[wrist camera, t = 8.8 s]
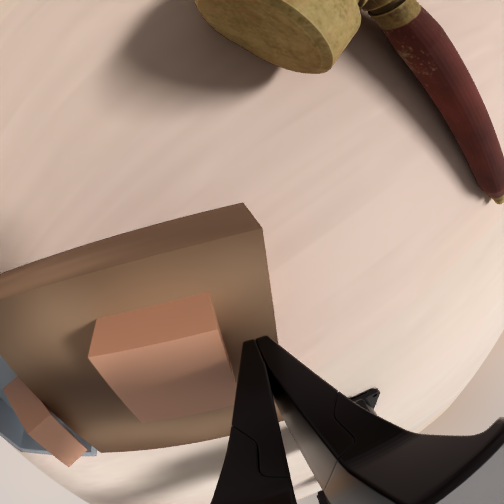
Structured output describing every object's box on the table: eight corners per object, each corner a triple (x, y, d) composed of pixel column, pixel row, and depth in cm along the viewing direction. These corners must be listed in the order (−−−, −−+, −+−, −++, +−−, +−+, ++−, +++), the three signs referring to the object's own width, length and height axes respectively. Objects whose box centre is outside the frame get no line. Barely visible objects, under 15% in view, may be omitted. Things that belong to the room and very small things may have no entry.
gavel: (543, 159, 11) (492, 274, 14) (498, 141, 15) (447, 242, 17) (369, -133, 1) (204, -38, 3) (313, -97, 4) (183, 17, 7)
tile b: (232, 367, 11) (242, 402, 9) (141, 387, 10) (141, 422, 9) (208, 291, 9) (217, 329, 8) (96, 318, 8) (87, 357, 7)
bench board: (274, 387, 17) (287, 419, 14) (101, 421, 15) (100, 452, 13) (243, 202, 11) (262, 228, 9) (-8, 277, 9) (-31, 309, 7)
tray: (98, 418, 15) (96, 456, 12) (26, 420, 13) (21, 451, 11) (-3, 285, 9) (-30, 326, 7) (-65, 308, 8) (-86, 340, 5)
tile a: (87, 449, 11) (68, 467, 10) (54, 411, 13) (37, 426, 11) (50, 414, 9) (27, 433, 8) (22, 372, 11) (2, 388, 10)
